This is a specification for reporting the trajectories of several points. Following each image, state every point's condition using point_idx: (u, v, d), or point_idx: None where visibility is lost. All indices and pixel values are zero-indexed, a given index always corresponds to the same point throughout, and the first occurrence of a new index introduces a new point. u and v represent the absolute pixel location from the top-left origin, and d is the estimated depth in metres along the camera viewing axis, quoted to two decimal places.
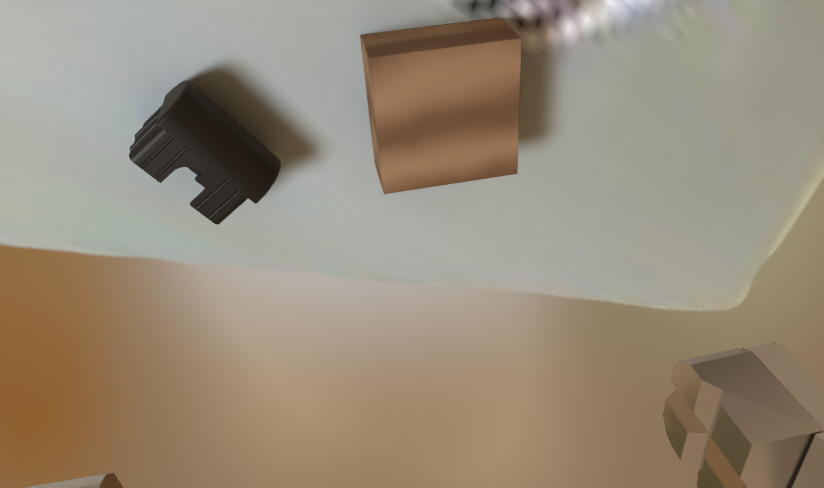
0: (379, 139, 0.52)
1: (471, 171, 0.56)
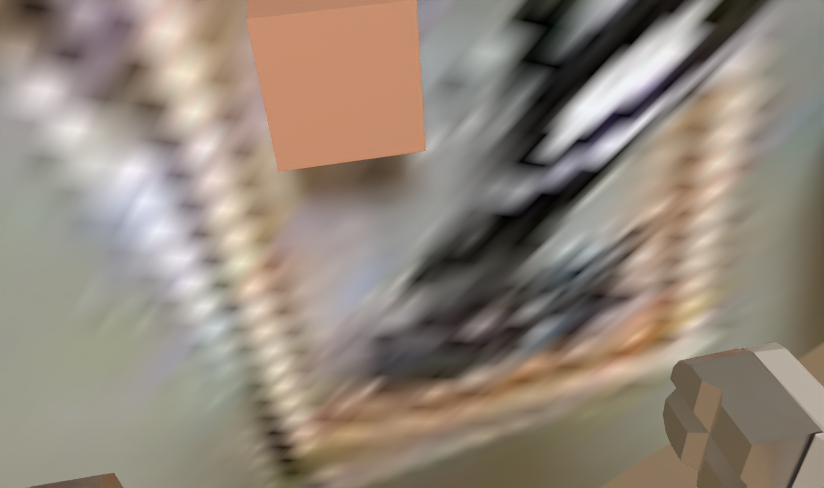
0: None
1: None
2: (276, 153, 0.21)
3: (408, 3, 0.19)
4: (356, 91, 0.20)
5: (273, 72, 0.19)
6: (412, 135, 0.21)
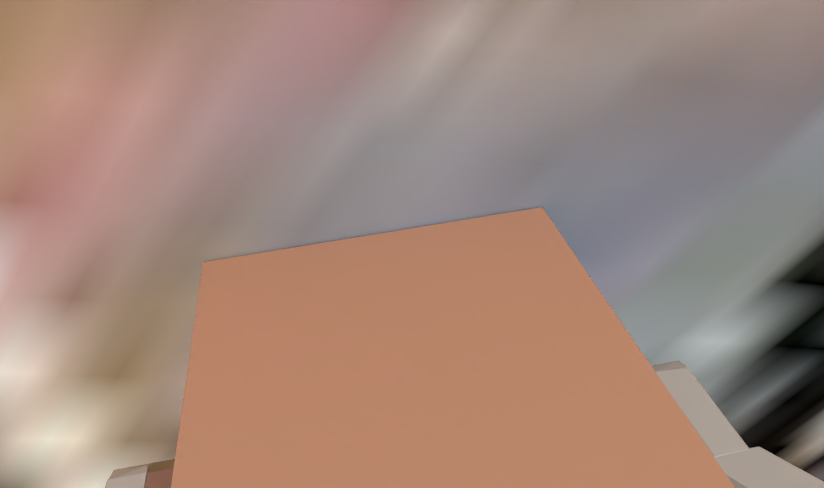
0: None
1: None
2: None
3: None
4: None
5: None
6: None
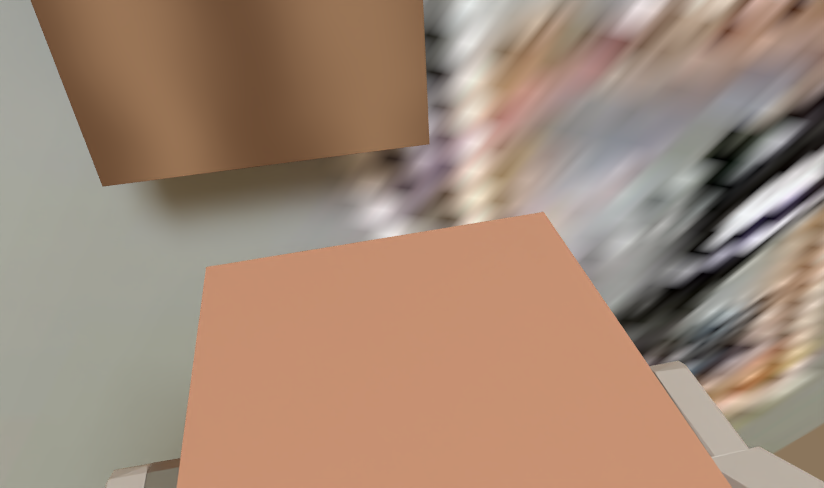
0: None
1: (88, 70, 0.21)
2: None
3: None
4: None
5: None
6: None
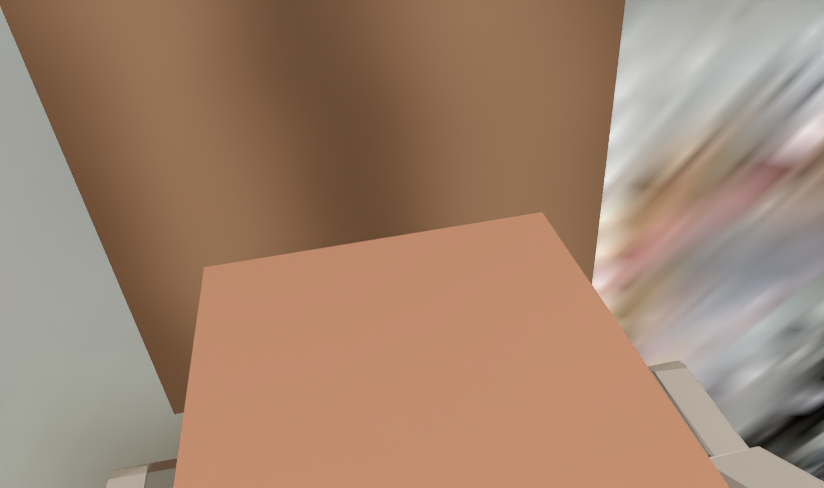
0: None
1: (164, 292, 0.15)
2: None
3: None
4: None
5: None
6: None
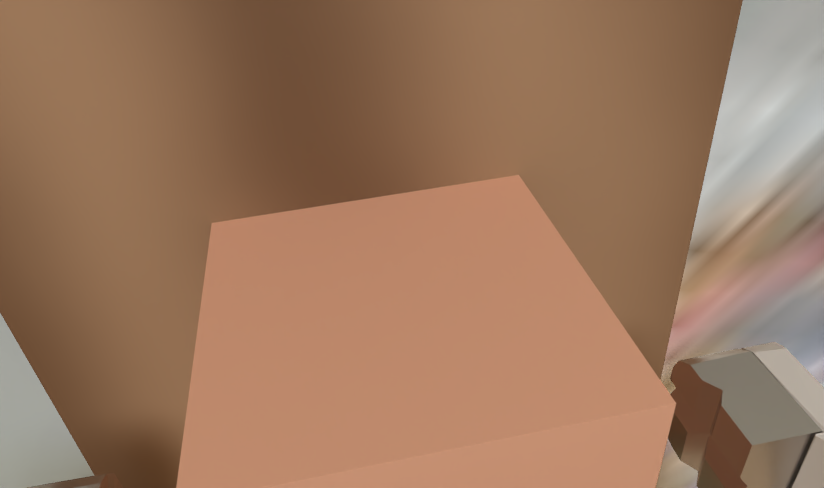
0: None
1: (125, 432, 0.12)
2: None
3: (651, 412, 0.07)
4: None
5: None
6: None
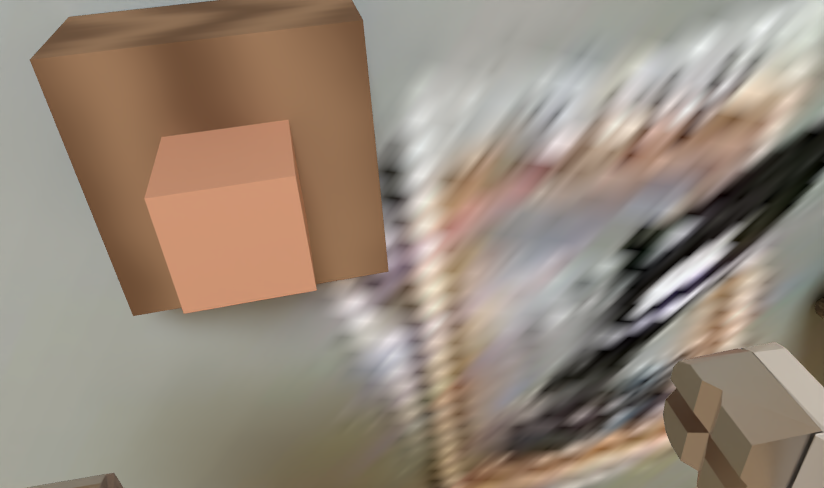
0: (180, 44, 0.23)
1: (125, 237, 0.27)
2: (180, 299, 0.24)
3: (288, 179, 0.22)
4: (249, 247, 0.23)
5: (171, 237, 0.22)
6: (303, 278, 0.24)
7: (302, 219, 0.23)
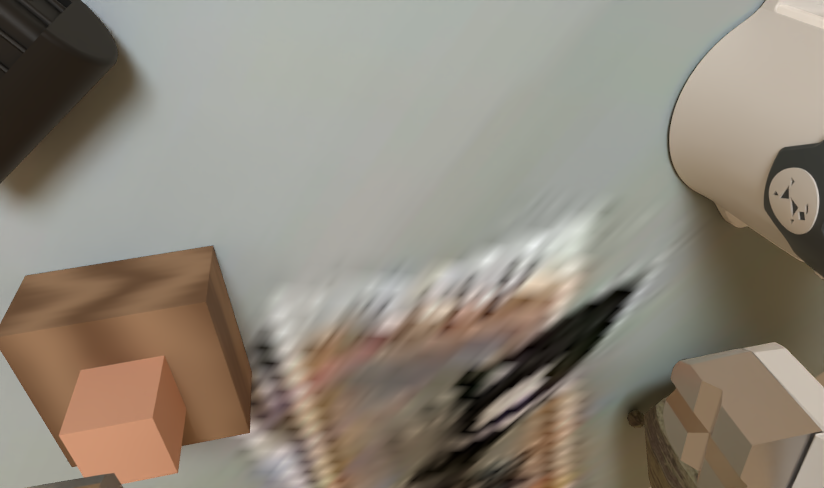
0: (87, 323, 0.37)
1: None
2: None
3: (148, 419, 0.36)
4: (129, 454, 0.37)
5: (78, 452, 0.36)
6: (167, 467, 0.38)
7: (161, 438, 0.37)
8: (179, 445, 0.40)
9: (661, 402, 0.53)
